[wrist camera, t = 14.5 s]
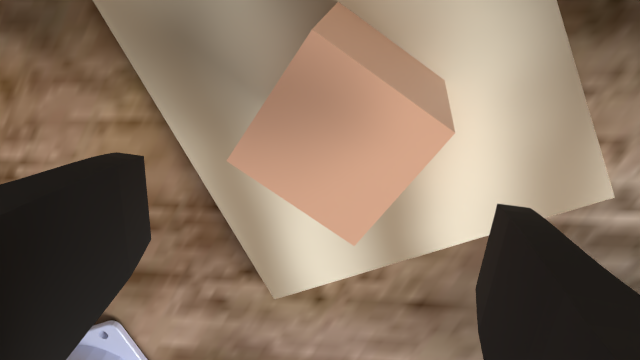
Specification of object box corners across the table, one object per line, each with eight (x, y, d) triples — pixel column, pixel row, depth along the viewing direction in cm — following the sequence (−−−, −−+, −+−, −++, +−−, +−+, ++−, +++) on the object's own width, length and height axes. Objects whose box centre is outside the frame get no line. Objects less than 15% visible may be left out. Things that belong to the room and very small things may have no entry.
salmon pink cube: (444, 80, 18) (455, 133, 13) (367, 173, 20) (354, 246, 15) (338, 1, 17) (312, 29, 13) (269, 105, 19) (226, 160, 15)
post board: (280, 282, 24) (256, 348, 20) (106, -9, 19) (34, 7, 16) (603, 182, 20) (648, 243, 16) (480, -230, 15) (502, -281, 11)
